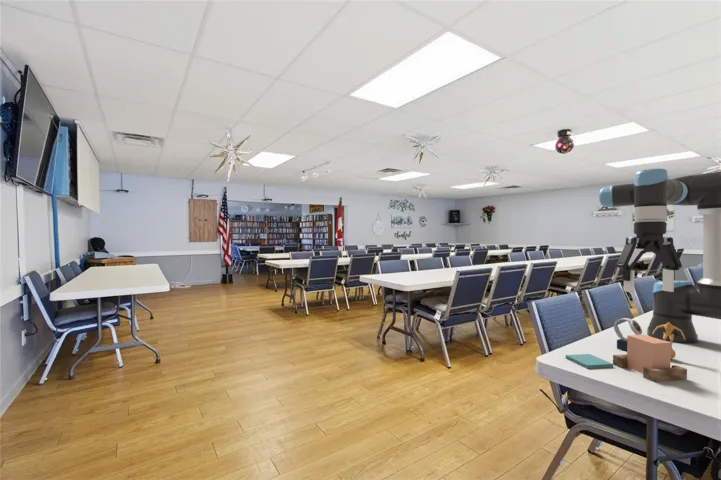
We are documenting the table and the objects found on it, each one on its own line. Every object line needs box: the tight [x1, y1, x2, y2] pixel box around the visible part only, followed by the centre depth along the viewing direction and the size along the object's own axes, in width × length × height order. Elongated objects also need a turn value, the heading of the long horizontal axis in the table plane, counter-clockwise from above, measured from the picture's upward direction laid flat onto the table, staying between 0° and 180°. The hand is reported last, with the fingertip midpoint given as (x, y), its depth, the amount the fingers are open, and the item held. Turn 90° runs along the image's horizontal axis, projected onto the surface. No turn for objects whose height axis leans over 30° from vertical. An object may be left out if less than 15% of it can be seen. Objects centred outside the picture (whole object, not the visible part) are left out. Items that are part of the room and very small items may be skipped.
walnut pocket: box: [612, 353, 688, 383], centre depth 102 cm, size 11×13×3 cm
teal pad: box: [565, 353, 614, 369], centre depth 110 cm, size 9×9×1 cm
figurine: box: [652, 322, 685, 360], centre depth 114 cm, size 8×6×12 cm
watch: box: [613, 317, 643, 352], centre depth 123 cm, size 6×8×11 cm
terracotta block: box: [626, 334, 672, 375], centre depth 102 cm, size 6×8×10 cm
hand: (648, 291), depth 102 cm, fingers open, 13 cm apart
